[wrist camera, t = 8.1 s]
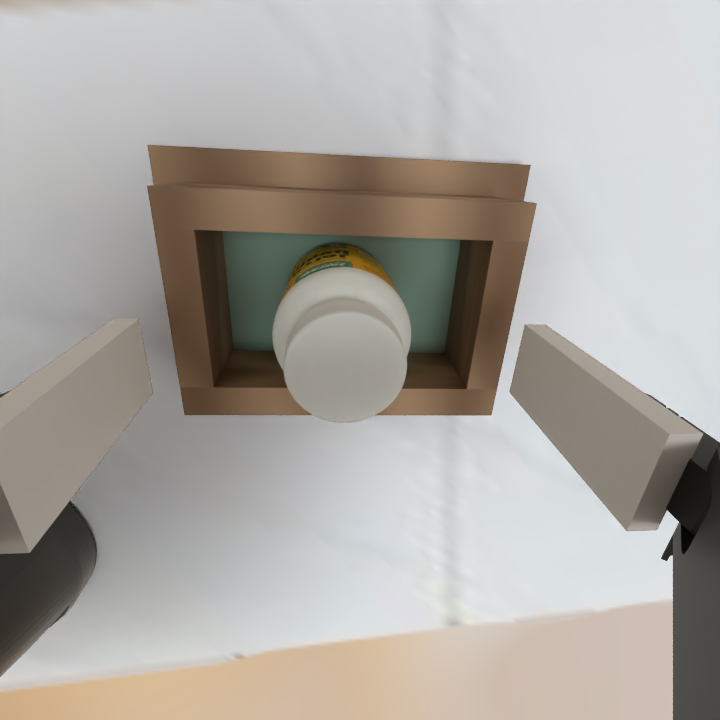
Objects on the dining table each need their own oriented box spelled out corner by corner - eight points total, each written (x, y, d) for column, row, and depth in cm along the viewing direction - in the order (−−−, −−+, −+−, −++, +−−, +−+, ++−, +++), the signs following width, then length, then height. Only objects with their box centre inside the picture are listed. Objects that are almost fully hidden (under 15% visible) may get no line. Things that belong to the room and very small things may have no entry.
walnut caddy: (192, 386, 25) (157, 440, 20) (156, 146, 19) (95, 137, 14) (478, 388, 26) (513, 439, 21) (521, 165, 21) (583, 163, 16)
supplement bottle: (331, 355, 23) (332, 467, 14) (266, 283, 21) (221, 362, 12) (408, 298, 22) (459, 382, 13) (347, 216, 20) (360, 252, 11)
